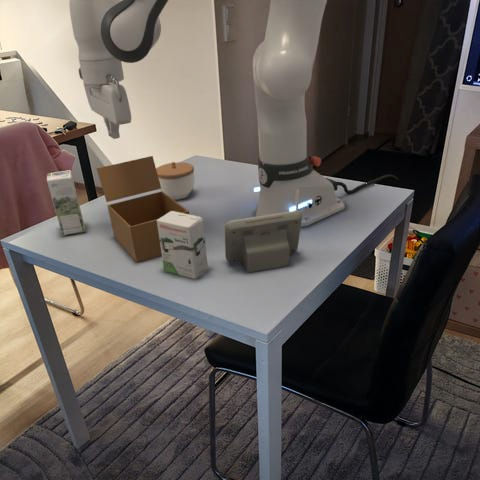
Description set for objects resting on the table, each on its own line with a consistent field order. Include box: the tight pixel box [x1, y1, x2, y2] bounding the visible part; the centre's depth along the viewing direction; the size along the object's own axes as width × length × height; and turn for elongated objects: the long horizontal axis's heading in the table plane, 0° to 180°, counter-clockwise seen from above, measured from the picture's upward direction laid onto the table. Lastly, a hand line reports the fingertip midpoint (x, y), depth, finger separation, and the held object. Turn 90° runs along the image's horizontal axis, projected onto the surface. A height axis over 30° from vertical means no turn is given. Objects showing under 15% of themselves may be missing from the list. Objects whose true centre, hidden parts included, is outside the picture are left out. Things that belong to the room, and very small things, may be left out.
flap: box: [96, 155, 161, 203], centre depth 124 cm, size 8×14×1 cm
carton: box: [107, 190, 191, 263], centre depth 122 cm, size 16×14×8 cm
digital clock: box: [224, 211, 302, 273], centre depth 109 cm, size 16×9×11 cm, turn 91°
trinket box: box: [156, 161, 195, 201], centre depth 146 cm, size 11×11×9 cm
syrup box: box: [46, 169, 86, 237], centre depth 129 cm, size 6×6×14 cm
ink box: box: [157, 211, 209, 280], centre depth 108 cm, size 9×5×12 cm, turn 59°
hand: (114, 137), depth 123 cm, fingers closed
